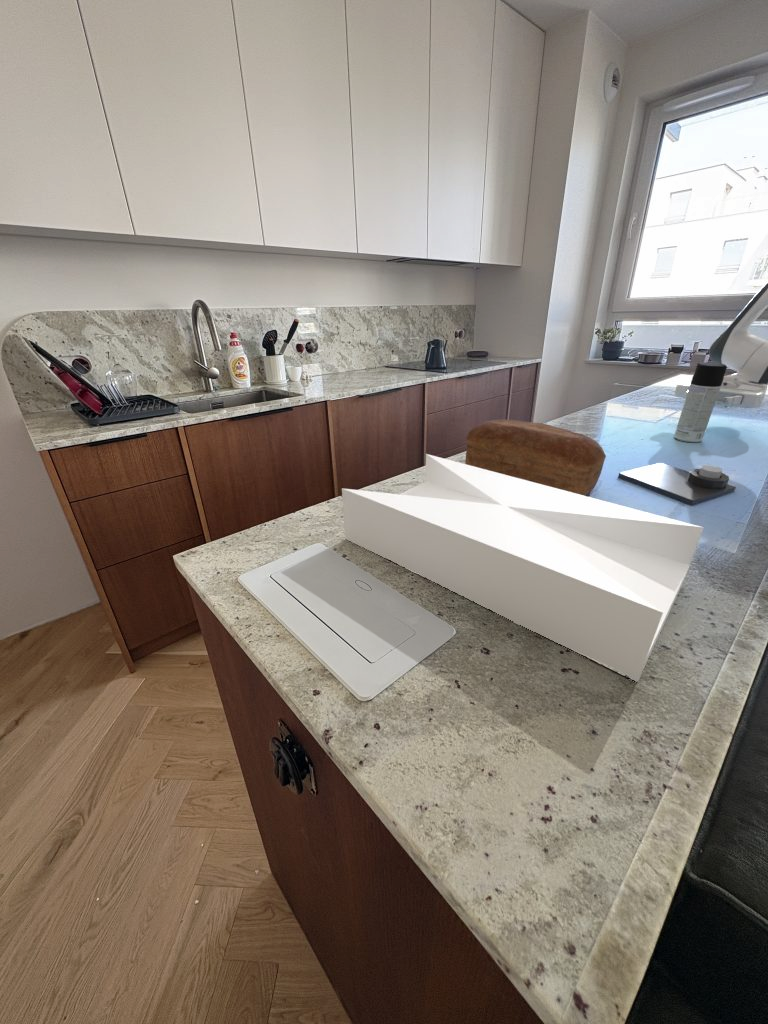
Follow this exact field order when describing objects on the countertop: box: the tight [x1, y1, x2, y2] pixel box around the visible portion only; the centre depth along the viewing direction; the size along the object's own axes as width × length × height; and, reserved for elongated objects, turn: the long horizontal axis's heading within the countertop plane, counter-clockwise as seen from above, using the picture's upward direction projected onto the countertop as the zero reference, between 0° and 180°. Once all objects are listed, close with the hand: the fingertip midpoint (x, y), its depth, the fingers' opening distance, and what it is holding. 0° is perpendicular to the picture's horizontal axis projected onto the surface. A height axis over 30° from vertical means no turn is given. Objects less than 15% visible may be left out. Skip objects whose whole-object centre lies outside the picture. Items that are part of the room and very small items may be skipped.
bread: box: [464, 418, 607, 496], centre depth 90 cm, size 14×28×12 cm, turn 46°
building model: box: [341, 453, 705, 682], centre depth 63 cm, size 45×22×10 cm, turn 48°
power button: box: [699, 465, 723, 479], centre depth 86 cm, size 4×4×2 cm
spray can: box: [673, 362, 728, 443], centre depth 112 cm, size 7×7×20 cm
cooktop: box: [617, 462, 737, 507], centre depth 89 cm, size 16×14×3 cm
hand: (706, 398), depth 114 cm, fingers open, 8 cm apart
